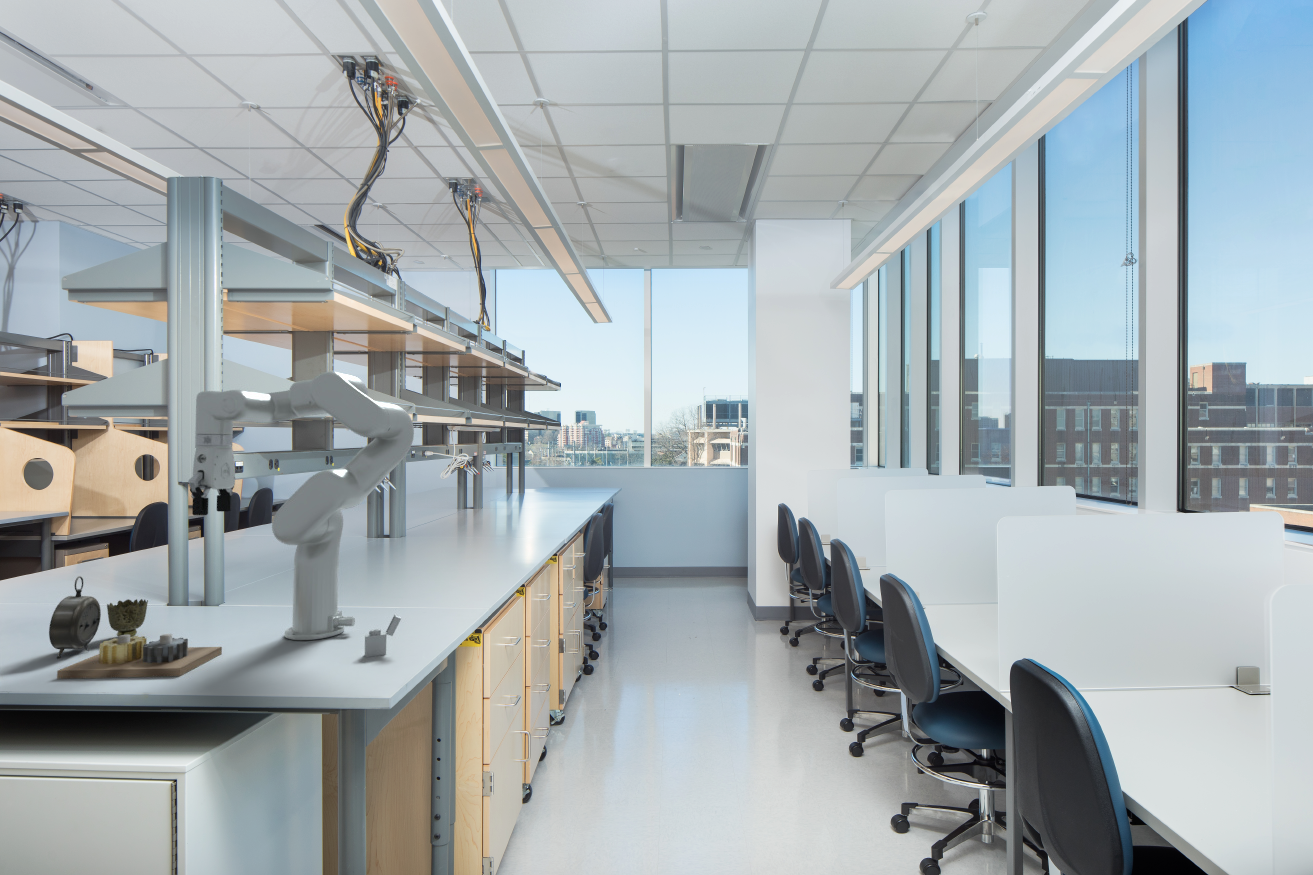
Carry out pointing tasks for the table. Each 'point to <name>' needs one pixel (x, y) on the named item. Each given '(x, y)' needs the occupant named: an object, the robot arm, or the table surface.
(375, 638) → the lighter
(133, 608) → the cup
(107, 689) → the table surface
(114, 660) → the brass gear
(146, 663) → the gear board
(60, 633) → the alarm clock
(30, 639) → the table surface
